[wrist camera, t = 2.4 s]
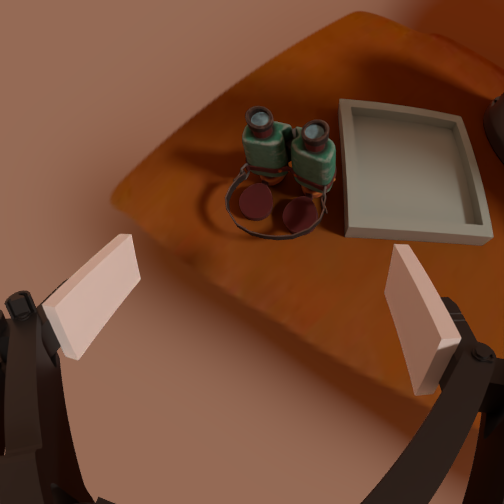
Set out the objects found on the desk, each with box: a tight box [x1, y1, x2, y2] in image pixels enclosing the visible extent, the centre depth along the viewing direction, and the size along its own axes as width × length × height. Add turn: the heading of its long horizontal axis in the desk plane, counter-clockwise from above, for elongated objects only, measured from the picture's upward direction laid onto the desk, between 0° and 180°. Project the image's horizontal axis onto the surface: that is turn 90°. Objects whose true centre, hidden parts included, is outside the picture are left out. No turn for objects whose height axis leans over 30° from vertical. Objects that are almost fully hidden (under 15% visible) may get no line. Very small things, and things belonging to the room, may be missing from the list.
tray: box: [338, 99, 493, 245], centre depth 29 cm, size 16×16×2 cm
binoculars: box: [225, 106, 337, 240], centre depth 26 cm, size 9×11×10 cm
